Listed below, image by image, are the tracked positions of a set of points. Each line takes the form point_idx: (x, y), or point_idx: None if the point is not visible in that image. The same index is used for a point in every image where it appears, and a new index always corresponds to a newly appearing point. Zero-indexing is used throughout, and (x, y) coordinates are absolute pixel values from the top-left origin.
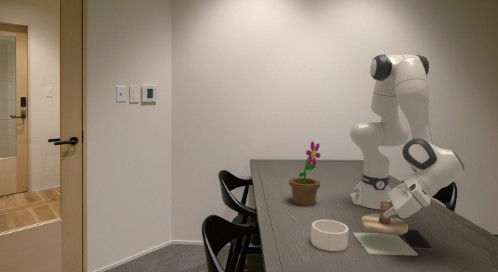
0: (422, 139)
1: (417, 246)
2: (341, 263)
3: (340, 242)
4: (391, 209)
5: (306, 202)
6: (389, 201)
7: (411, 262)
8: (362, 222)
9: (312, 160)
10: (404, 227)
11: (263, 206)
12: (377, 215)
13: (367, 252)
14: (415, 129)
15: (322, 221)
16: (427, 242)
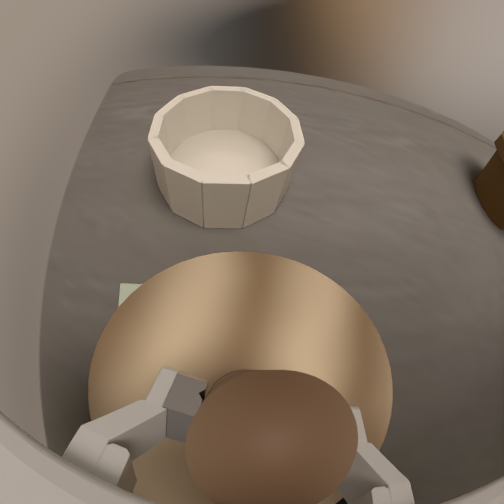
0: None
1: None
2: (86, 179)
3: (156, 171)
4: (79, 428)
5: (485, 194)
6: (371, 500)
7: (71, 423)
8: (246, 255)
9: None
10: (165, 499)
11: (425, 111)
12: (369, 390)
13: (137, 285)
14: None
15: (289, 122)
16: None
